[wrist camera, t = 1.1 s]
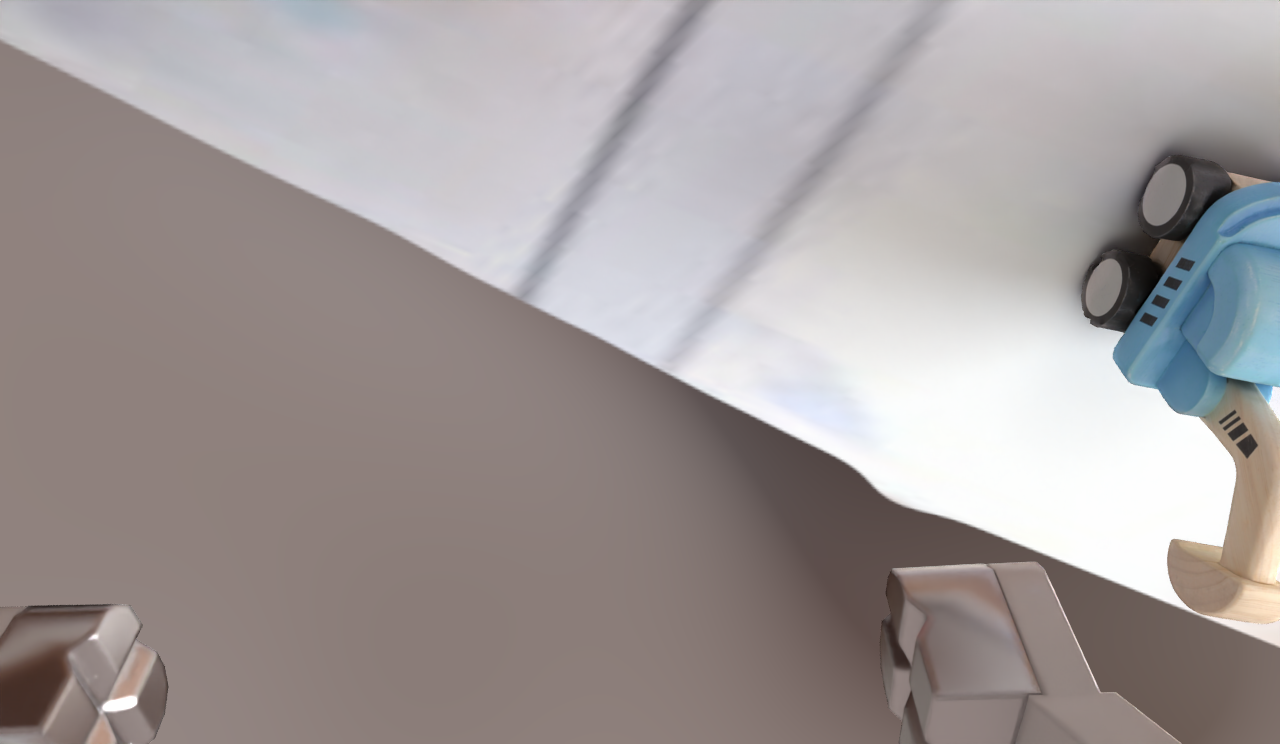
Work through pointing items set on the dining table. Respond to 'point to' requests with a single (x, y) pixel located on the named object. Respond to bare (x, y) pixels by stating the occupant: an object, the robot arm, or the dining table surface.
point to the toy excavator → (1209, 358)
